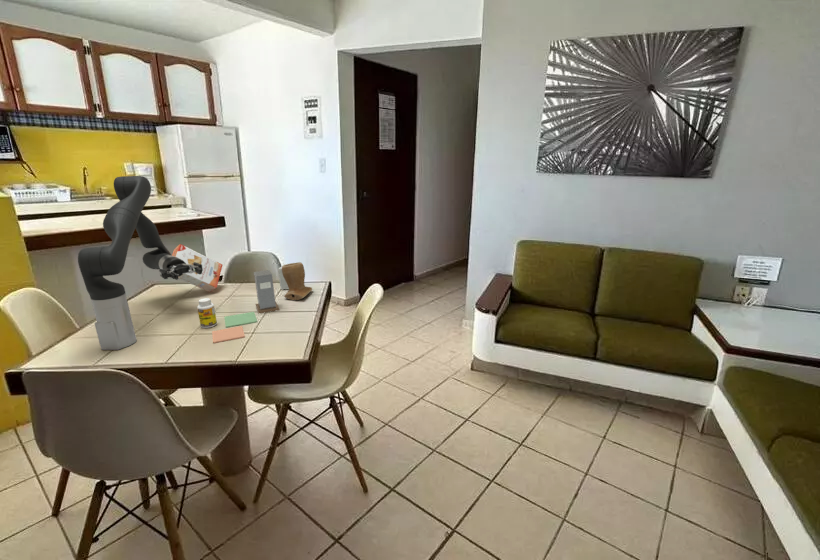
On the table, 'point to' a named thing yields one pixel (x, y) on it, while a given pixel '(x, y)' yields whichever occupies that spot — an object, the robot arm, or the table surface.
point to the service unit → (265, 292)
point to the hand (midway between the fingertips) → (189, 274)
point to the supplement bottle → (206, 313)
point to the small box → (282, 280)
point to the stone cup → (295, 281)
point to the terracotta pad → (228, 334)
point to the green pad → (240, 319)
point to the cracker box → (210, 267)
